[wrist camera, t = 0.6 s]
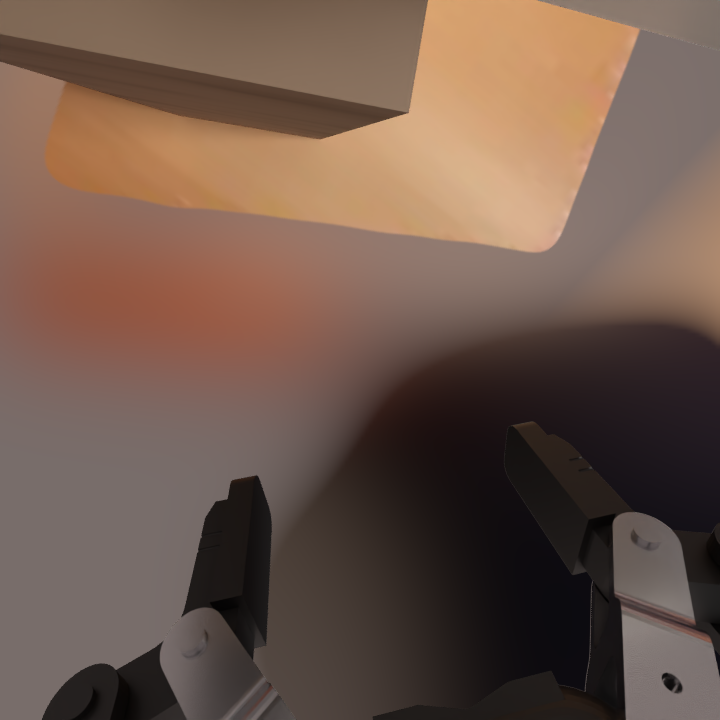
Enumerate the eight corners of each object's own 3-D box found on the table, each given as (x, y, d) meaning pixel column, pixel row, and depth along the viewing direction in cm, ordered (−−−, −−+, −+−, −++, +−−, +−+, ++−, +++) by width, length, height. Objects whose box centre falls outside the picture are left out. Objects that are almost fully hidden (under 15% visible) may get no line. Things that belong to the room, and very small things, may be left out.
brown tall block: (171, -9, 29) (-883, -1414, 3) (329, 27, 31) (521, -554, 5) (179, 115, 32) (-254, -16, 7) (320, 139, 35) (408, 112, 9)
